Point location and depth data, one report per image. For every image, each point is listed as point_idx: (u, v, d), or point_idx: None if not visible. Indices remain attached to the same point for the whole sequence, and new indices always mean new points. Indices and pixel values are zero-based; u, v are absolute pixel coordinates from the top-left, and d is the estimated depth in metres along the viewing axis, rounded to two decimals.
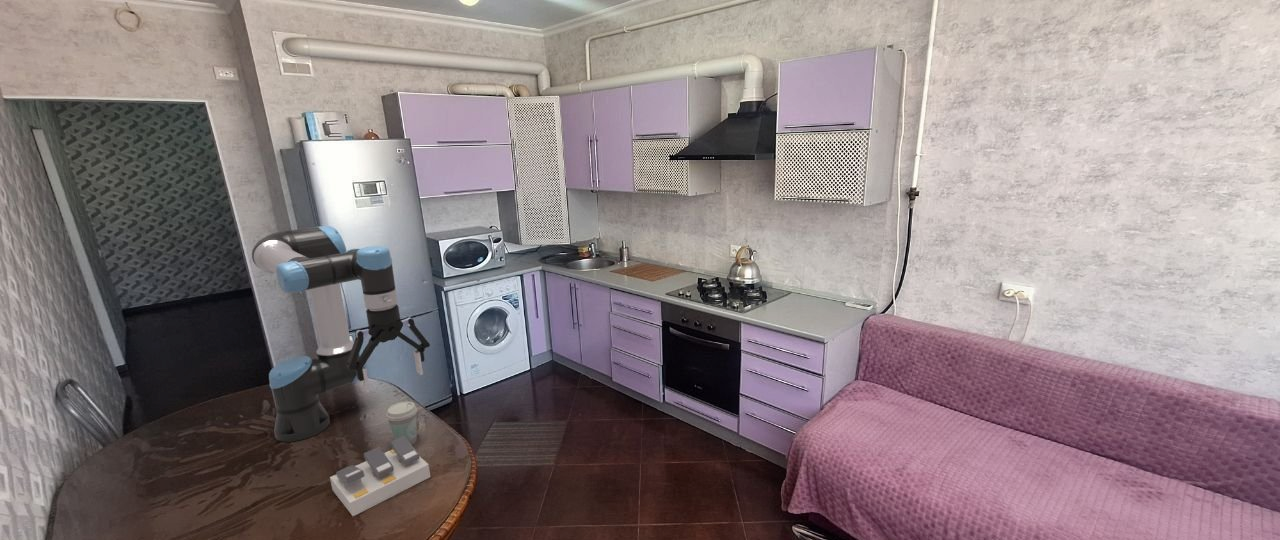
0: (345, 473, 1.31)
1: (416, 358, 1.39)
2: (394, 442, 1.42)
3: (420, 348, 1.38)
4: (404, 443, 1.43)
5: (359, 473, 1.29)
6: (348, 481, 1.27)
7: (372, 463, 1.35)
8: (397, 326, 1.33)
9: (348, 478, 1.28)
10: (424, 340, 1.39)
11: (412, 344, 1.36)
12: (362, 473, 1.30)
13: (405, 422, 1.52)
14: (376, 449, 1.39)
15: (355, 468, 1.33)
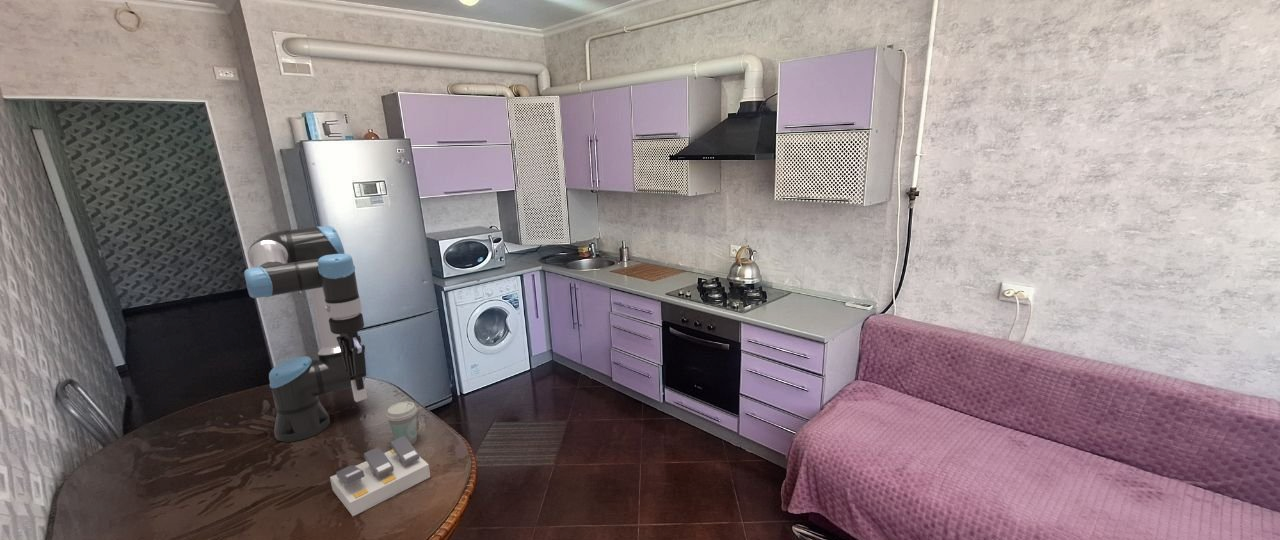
0: (345, 473, 1.31)
1: None
2: (394, 442, 1.42)
3: (352, 376, 1.31)
4: (404, 443, 1.43)
5: (359, 473, 1.29)
6: (348, 481, 1.27)
7: (372, 463, 1.35)
8: (348, 339, 1.27)
9: (348, 478, 1.28)
10: (355, 371, 1.29)
11: (350, 366, 1.30)
12: (362, 473, 1.30)
13: (405, 422, 1.52)
14: (376, 449, 1.39)
15: (355, 468, 1.33)
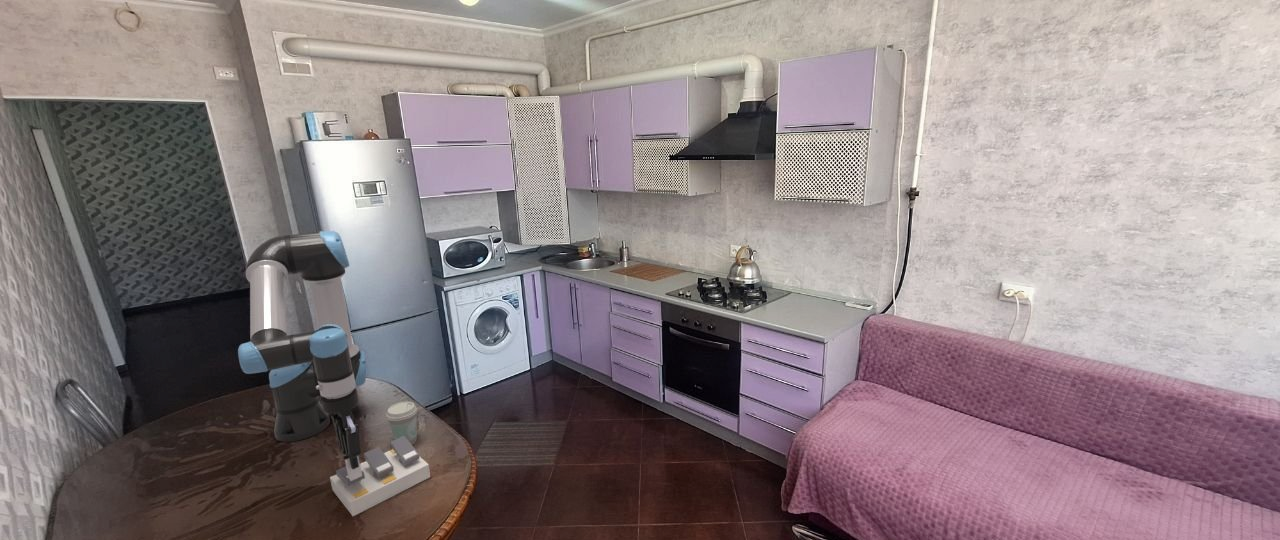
0: (345, 473, 1.31)
1: None
2: (394, 442, 1.42)
3: (346, 455, 1.25)
4: (404, 443, 1.43)
5: None
6: (348, 483, 1.27)
7: (372, 463, 1.35)
8: (341, 418, 1.22)
9: (349, 480, 1.27)
10: (349, 451, 1.23)
11: (344, 445, 1.25)
12: (363, 475, 1.30)
13: (405, 422, 1.52)
14: (376, 449, 1.39)
15: None
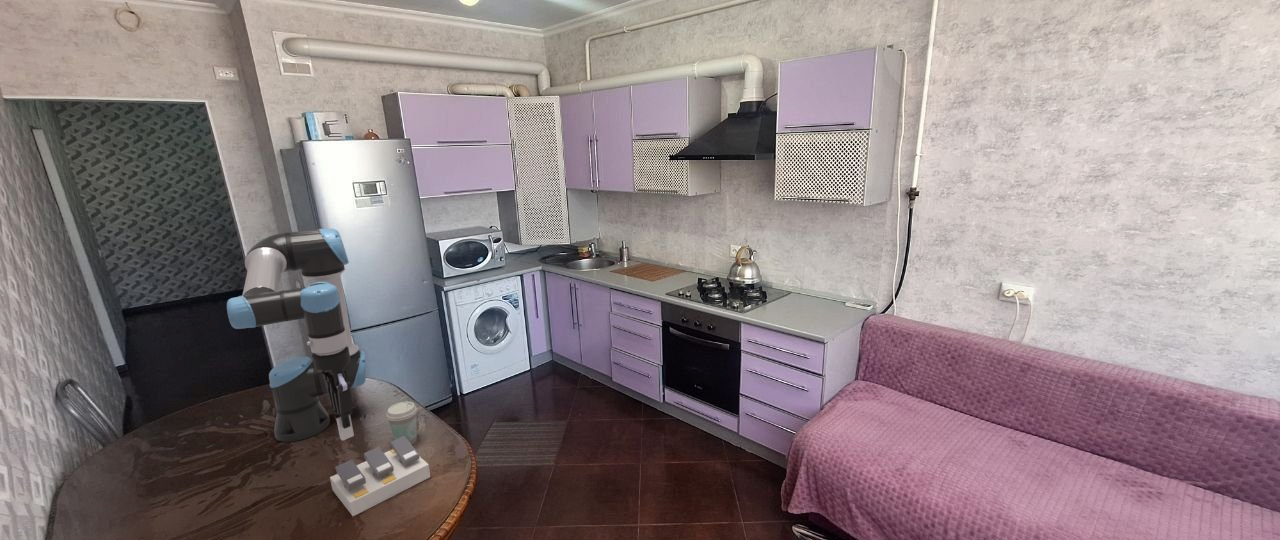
0: (346, 474, 1.30)
1: None
2: (394, 442, 1.42)
3: (338, 413, 1.23)
4: (404, 443, 1.43)
5: (361, 480, 1.29)
6: (350, 488, 1.28)
7: (372, 463, 1.35)
8: (332, 375, 1.19)
9: (350, 485, 1.28)
10: (340, 409, 1.21)
11: (336, 403, 1.22)
12: (364, 480, 1.30)
13: (405, 422, 1.52)
14: (376, 449, 1.39)
15: (356, 469, 1.32)
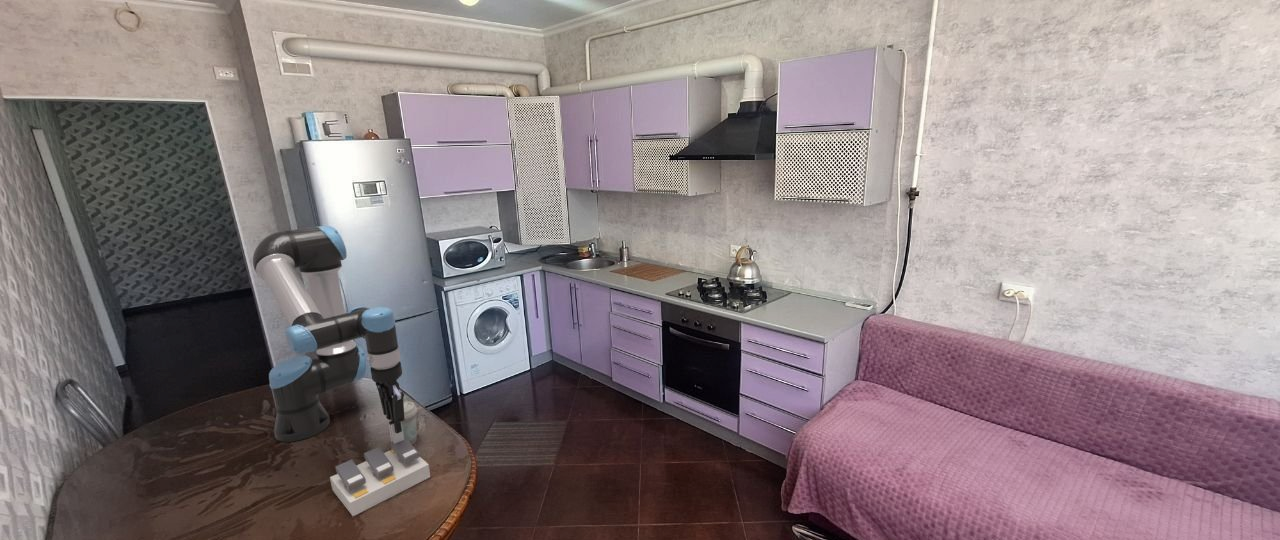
0: (346, 475, 1.30)
1: None
2: None
3: (392, 420, 1.40)
4: (404, 443, 1.43)
5: (361, 480, 1.29)
6: (350, 488, 1.28)
7: (372, 463, 1.35)
8: (388, 387, 1.37)
9: (350, 485, 1.28)
10: (394, 417, 1.38)
11: (390, 411, 1.40)
12: (364, 480, 1.30)
13: (405, 422, 1.52)
14: (376, 449, 1.39)
15: (356, 469, 1.32)
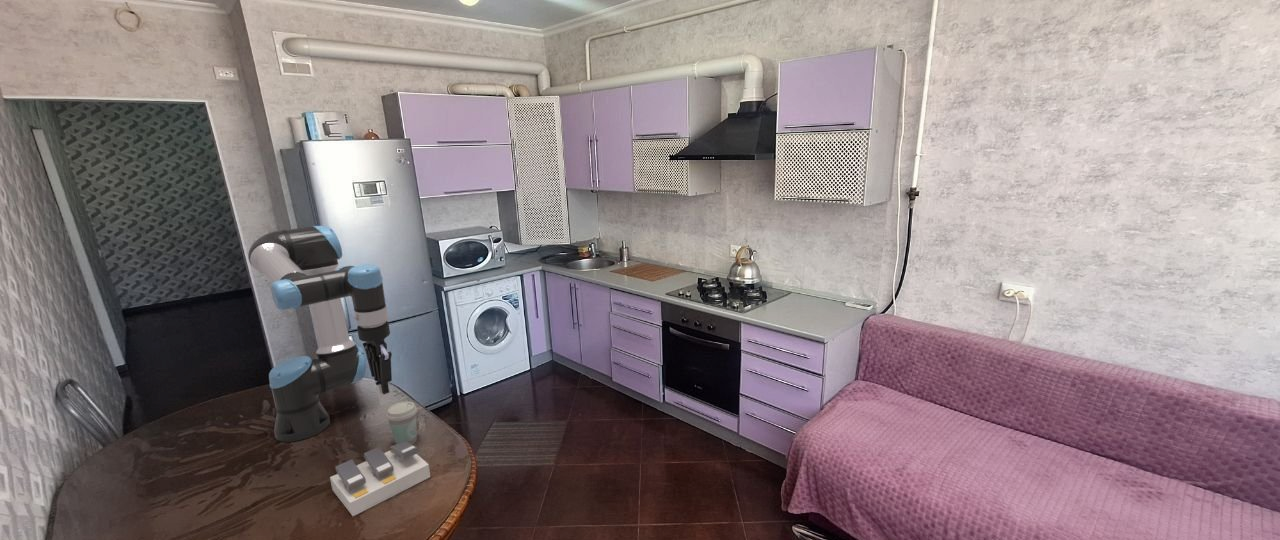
0: (346, 475, 1.30)
1: None
2: (394, 446, 1.43)
3: (378, 380, 1.37)
4: (403, 444, 1.43)
5: (361, 480, 1.29)
6: (350, 488, 1.28)
7: (372, 463, 1.35)
8: (375, 346, 1.34)
9: (350, 485, 1.28)
10: (381, 377, 1.35)
11: (377, 371, 1.37)
12: (364, 480, 1.30)
13: (405, 422, 1.52)
14: (376, 449, 1.39)
15: (356, 469, 1.32)
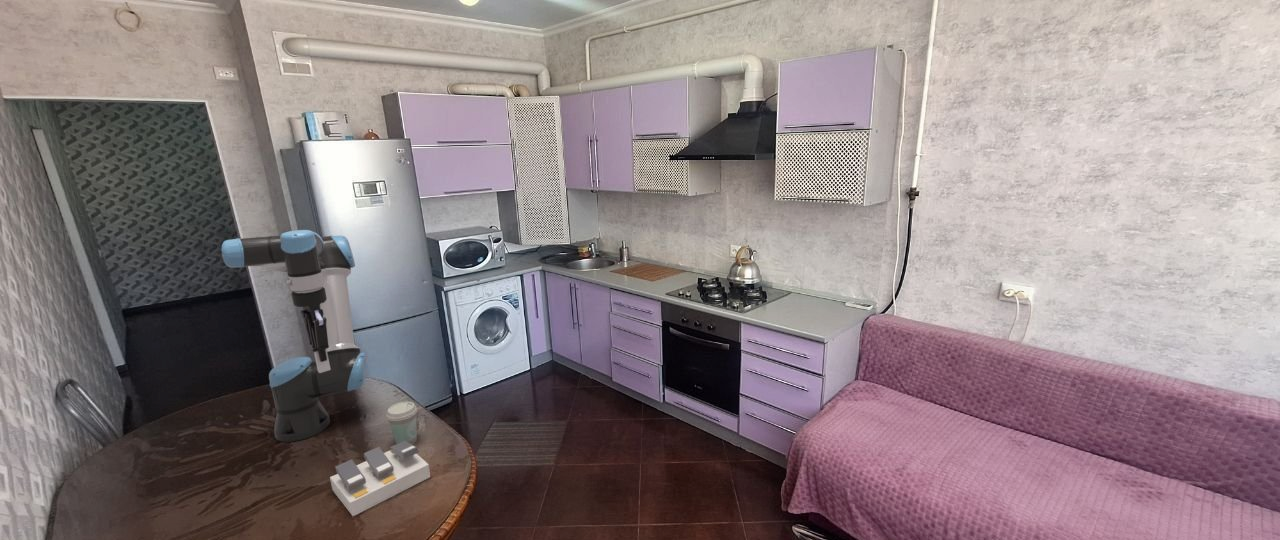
0: (346, 475, 1.30)
1: None
2: (394, 446, 1.43)
3: (315, 347, 1.37)
4: (403, 444, 1.43)
5: (361, 480, 1.29)
6: (350, 488, 1.28)
7: (372, 463, 1.35)
8: (310, 312, 1.33)
9: (350, 485, 1.28)
10: (317, 343, 1.35)
11: (313, 338, 1.36)
12: (364, 480, 1.30)
13: (405, 422, 1.52)
14: (376, 449, 1.39)
15: (356, 469, 1.32)
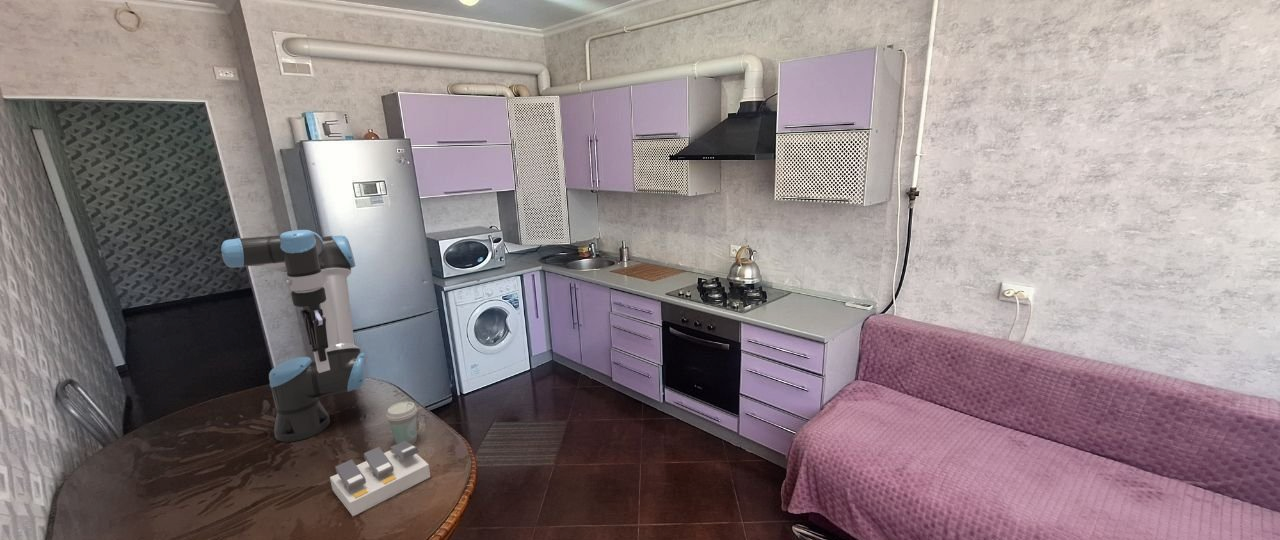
0: (346, 475, 1.30)
1: None
2: (394, 446, 1.43)
3: (315, 347, 1.36)
4: (403, 444, 1.43)
5: (361, 480, 1.29)
6: (350, 488, 1.28)
7: (372, 463, 1.35)
8: (309, 312, 1.33)
9: (350, 485, 1.28)
10: (317, 343, 1.35)
11: (313, 338, 1.36)
12: (364, 480, 1.30)
13: (405, 422, 1.52)
14: (376, 449, 1.39)
15: (356, 469, 1.32)
